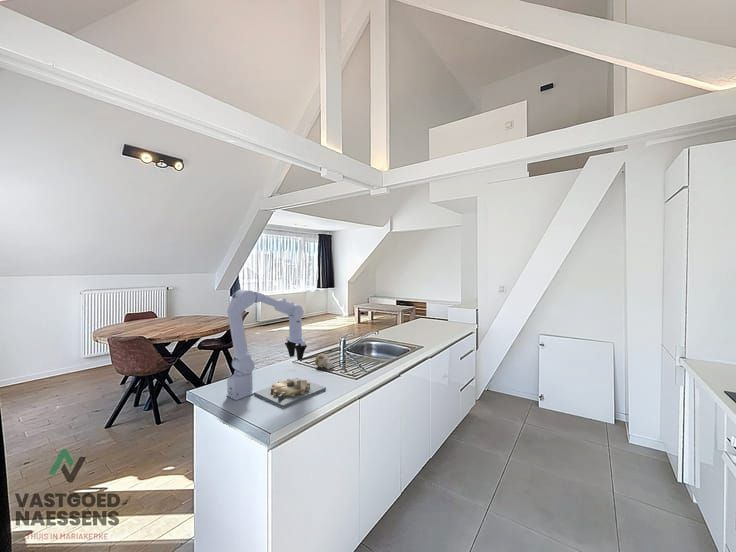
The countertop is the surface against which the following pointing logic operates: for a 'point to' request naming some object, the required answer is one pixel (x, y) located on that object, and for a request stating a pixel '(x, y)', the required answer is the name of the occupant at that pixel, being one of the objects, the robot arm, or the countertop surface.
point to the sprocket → (290, 387)
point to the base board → (288, 400)
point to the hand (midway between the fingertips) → (295, 358)
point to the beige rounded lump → (323, 361)
